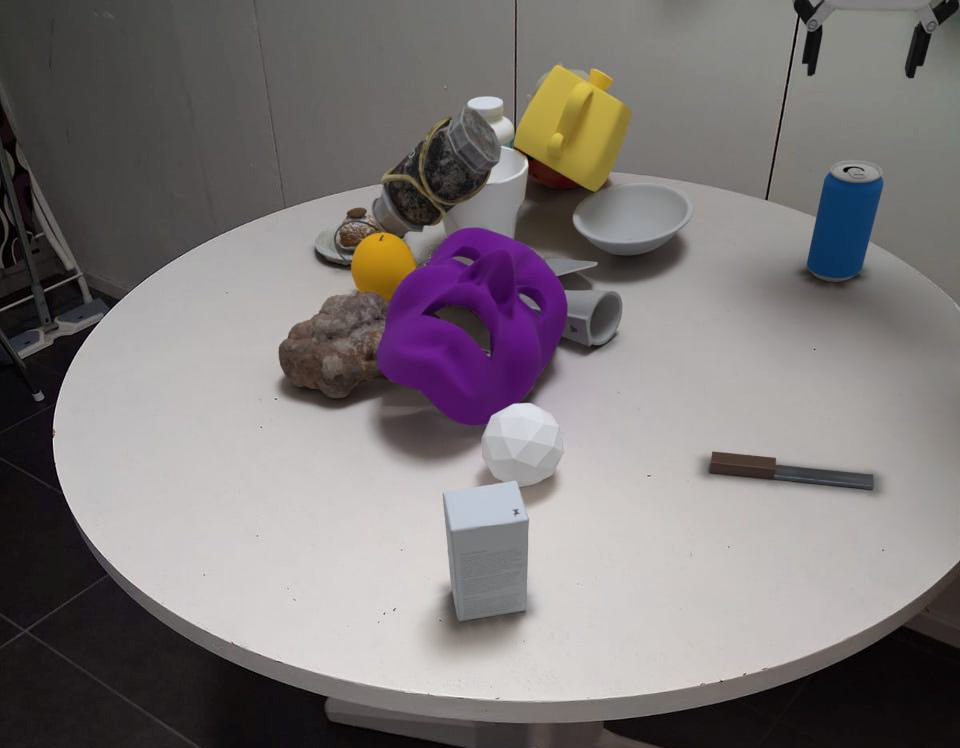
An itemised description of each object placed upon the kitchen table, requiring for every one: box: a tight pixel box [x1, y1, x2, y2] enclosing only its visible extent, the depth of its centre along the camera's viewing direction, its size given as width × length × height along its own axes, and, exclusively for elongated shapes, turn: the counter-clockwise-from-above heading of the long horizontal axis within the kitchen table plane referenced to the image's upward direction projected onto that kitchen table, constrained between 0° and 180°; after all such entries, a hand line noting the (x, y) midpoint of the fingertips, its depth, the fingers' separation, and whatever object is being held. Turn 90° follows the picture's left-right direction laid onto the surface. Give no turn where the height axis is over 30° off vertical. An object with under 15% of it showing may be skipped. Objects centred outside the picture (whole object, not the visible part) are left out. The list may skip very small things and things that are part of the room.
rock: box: [277, 291, 442, 399], centre depth 104 cm, size 18×12×10 cm, turn 109°
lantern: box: [334, 106, 502, 265], centre depth 114 cm, size 9×8×25 cm
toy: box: [514, 61, 590, 190], centre depth 132 cm, size 15×15×15 cm
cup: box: [441, 146, 528, 266], centre depth 119 cm, size 12×12×11 cm
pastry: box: [314, 207, 405, 266], centre depth 125 cm, size 12×12×5 cm
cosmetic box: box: [442, 481, 530, 622], centre depth 76 cm, size 6×4×12 cm
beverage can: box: [806, 159, 884, 283], centre depth 111 cm, size 6×6×12 cm
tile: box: [543, 258, 598, 277], centre depth 114 cm, size 20×11×1 cm, turn 124°
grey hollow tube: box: [518, 289, 623, 347], centre depth 111 cm, size 6×6×19 cm
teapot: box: [514, 64, 632, 193], centre depth 119 cm, size 20×12×12 cm
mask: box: [377, 228, 568, 427], centre depth 94 cm, size 17×15×25 cm
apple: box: [350, 233, 417, 303], centre depth 115 cm, size 8×8×8 cm
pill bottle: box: [466, 96, 515, 150], centre depth 127 cm, size 8×7×14 cm
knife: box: [709, 450, 875, 490], centre depth 90 cm, size 15×2×1 cm, turn 76°
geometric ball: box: [481, 402, 565, 488], centre depth 89 cm, size 8×8×8 cm
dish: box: [572, 181, 694, 256], centre depth 120 cm, size 18×14×5 cm
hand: (859, 72), depth 97 cm, fingers open, 9 cm apart
